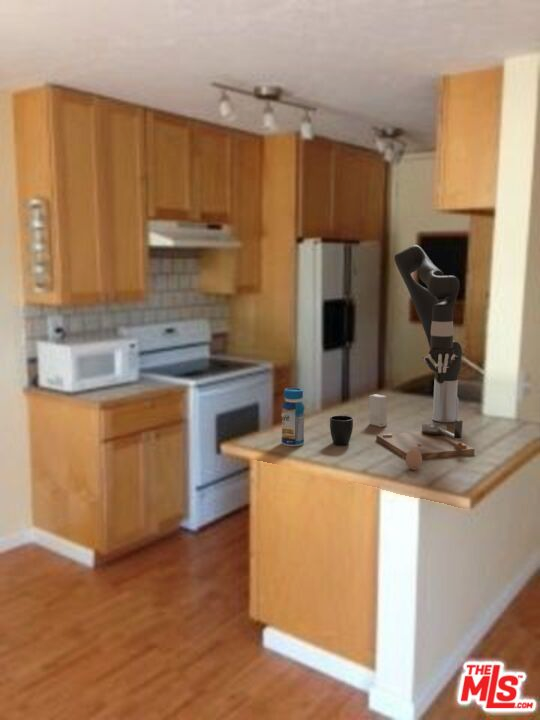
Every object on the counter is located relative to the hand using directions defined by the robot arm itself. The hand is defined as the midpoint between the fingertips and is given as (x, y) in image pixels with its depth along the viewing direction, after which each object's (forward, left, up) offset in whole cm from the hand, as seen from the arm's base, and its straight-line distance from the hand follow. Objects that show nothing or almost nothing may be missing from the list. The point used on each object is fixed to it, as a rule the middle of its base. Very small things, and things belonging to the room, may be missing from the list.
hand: (440, 382), depth 235 cm
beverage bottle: (+48, -18, -24) cm, 57 cm away
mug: (+30, -15, -24) cm, 41 cm away
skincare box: (+7, -34, -24) cm, 42 cm away
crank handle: (-5, -4, -21) cm, 22 cm away
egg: (+20, +20, -24) cm, 37 cm away
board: (+5, -1, -23) cm, 24 cm away
